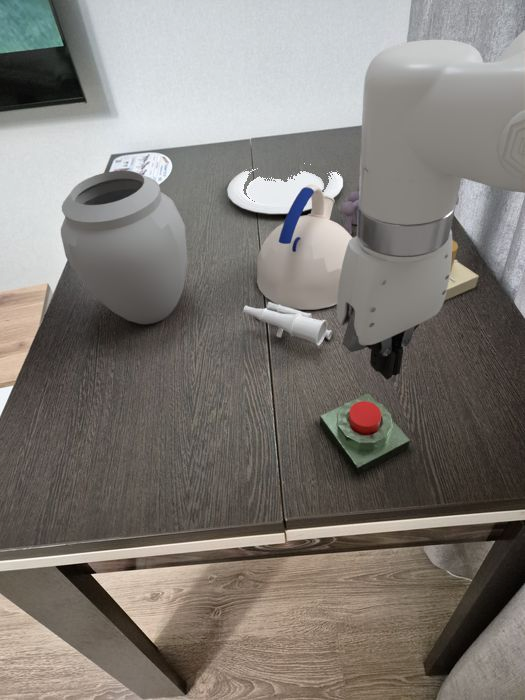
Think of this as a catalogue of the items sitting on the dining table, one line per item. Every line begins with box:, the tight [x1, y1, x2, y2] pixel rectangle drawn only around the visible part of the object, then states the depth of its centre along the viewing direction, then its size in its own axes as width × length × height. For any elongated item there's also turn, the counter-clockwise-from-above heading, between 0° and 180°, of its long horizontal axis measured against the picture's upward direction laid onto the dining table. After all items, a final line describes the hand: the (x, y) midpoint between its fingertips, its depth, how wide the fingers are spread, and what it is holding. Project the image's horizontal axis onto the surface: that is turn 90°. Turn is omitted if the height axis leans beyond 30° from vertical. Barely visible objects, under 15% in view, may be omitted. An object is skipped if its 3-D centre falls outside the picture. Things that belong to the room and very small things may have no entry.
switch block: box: [319, 392, 411, 476], centre depth 58 cm, size 9×8×4 cm
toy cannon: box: [242, 301, 333, 347], centre depth 72 cm, size 8×14×5 cm
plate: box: [226, 163, 344, 216], centre depth 110 cm, size 29×29×2 cm
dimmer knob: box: [450, 239, 459, 273], centre depth 78 cm, size 5×5×5 cm
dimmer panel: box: [444, 259, 480, 302], centre depth 80 cm, size 11×9×3 cm
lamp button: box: [349, 401, 381, 434], centre depth 56 cm, size 4×4×2 cm
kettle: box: [256, 184, 353, 311], centre depth 79 cm, size 20×21×18 cm
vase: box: [60, 170, 188, 325], centre depth 74 cm, size 20×20×24 cm
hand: (384, 368), depth 49 cm, fingers closed
